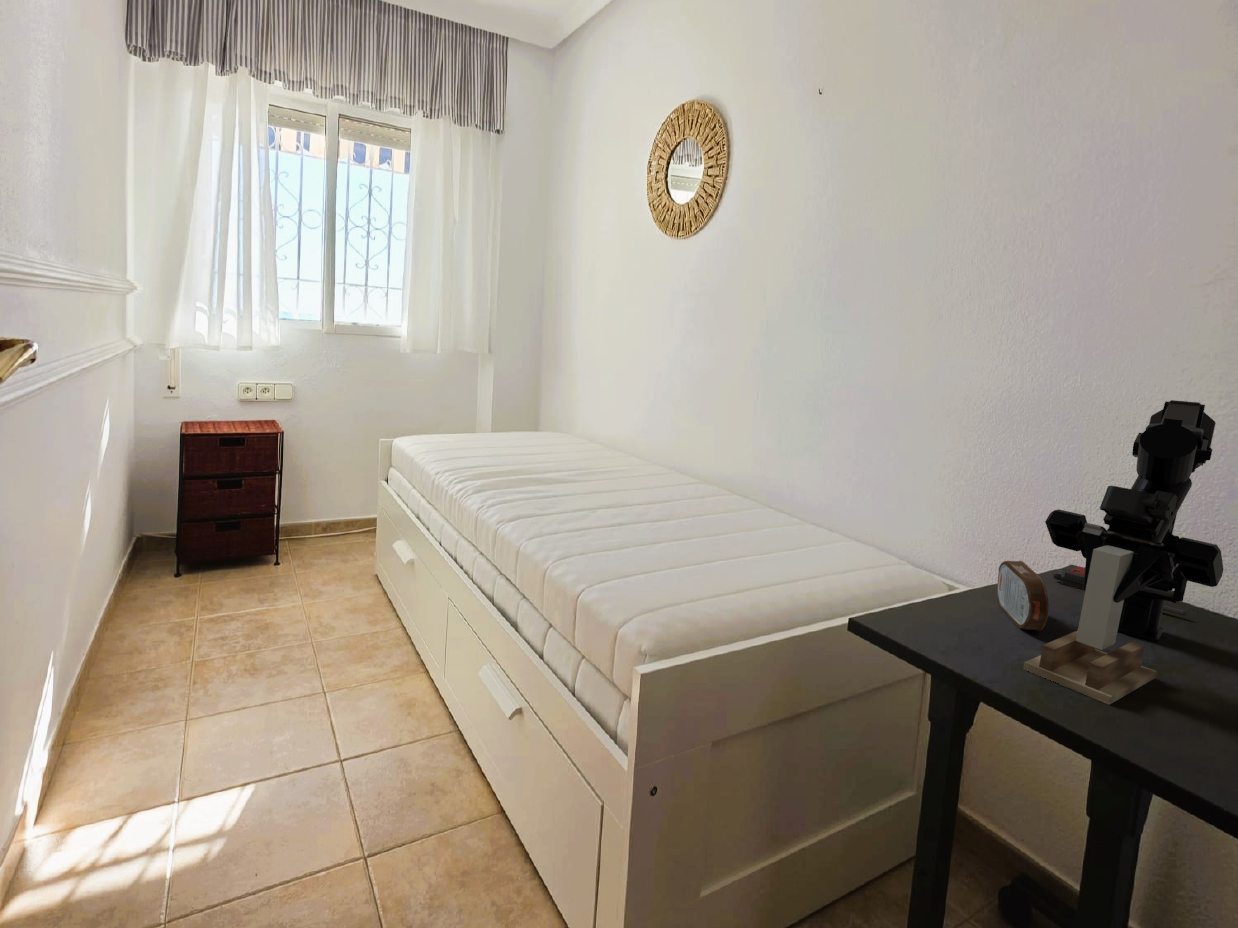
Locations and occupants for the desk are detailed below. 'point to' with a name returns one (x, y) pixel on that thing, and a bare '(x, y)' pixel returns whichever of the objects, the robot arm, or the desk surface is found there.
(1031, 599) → the tin
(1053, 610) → the desk surface
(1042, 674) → the rack
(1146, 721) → the desk surface
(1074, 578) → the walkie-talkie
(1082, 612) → the clay bar
